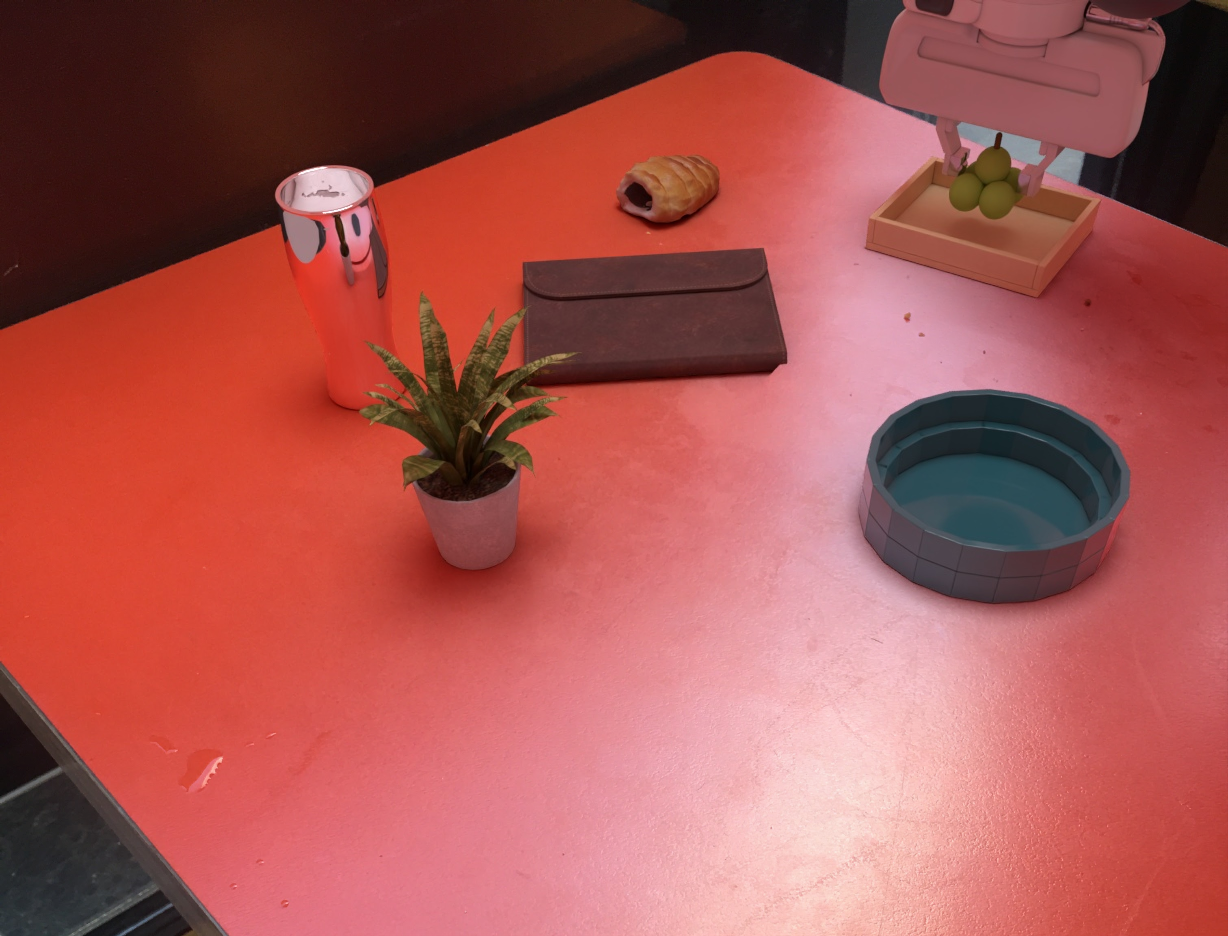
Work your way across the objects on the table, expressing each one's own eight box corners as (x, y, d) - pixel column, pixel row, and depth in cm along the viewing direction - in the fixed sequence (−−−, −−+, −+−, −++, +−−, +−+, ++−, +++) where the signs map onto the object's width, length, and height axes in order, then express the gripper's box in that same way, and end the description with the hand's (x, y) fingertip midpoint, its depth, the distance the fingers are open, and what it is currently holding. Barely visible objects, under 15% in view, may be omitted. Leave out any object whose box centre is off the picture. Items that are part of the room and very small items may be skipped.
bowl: (1142, 500, 83) (1167, 437, 79) (1051, 647, 75) (1072, 585, 71) (921, 425, 88) (933, 363, 84) (815, 554, 81) (823, 492, 77)
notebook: (786, 372, 93) (788, 348, 91) (526, 387, 93) (523, 364, 91) (761, 267, 102) (763, 244, 100) (524, 281, 102) (522, 258, 100)
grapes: (1028, 200, 101) (1046, 126, 97) (1002, 229, 99) (1018, 154, 94) (967, 184, 103) (982, 111, 99) (940, 212, 101) (953, 138, 96)
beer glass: (364, 350, 97) (322, 154, 85) (432, 378, 94) (398, 179, 82) (303, 395, 93) (249, 197, 81) (371, 425, 91) (326, 225, 79)
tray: (1092, 229, 104) (1101, 199, 102) (1037, 298, 98) (1045, 266, 96) (927, 185, 109) (932, 155, 107) (864, 248, 103) (868, 217, 101)
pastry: (685, 169, 112) (686, 126, 109) (739, 195, 109) (741, 151, 106) (610, 207, 109) (608, 163, 106) (662, 235, 106) (663, 190, 103)
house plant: (532, 654, 76) (505, 430, 63) (335, 605, 79) (270, 383, 66) (612, 511, 84) (602, 286, 71) (429, 472, 87) (388, 249, 74)
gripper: (1188, 1, 86) (1128, 198, 98) (921, -51, 94) (893, 138, 105) (1158, 34, 83) (1099, 233, 94) (884, -22, 91) (860, 169, 102)
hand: (989, 183), depth 100 cm, fingers closed on grapes, 5 cm apart
